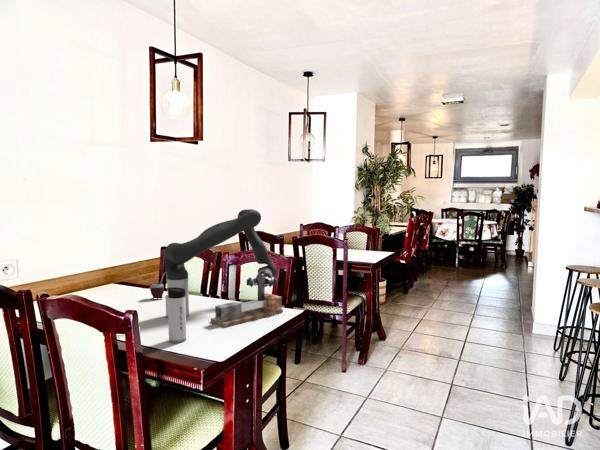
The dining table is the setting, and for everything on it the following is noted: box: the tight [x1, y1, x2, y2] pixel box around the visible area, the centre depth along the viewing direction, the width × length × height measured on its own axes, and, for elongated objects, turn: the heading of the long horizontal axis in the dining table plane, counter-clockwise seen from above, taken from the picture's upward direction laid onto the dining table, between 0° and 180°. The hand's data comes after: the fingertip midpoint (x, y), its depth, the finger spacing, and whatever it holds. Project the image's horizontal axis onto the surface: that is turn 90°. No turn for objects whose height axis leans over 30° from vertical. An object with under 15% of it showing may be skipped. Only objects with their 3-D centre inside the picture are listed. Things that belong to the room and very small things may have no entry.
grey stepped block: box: [240, 273, 268, 312], centre depth 182 cm, size 22×3×15 cm, turn 134°
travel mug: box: [166, 287, 187, 344], centre depth 150 cm, size 6×7×20 cm
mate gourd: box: [149, 272, 166, 299], centre depth 216 cm, size 8×8×15 cm
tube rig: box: [210, 292, 284, 328], centre depth 181 cm, size 32×11×8 cm, turn 134°
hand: (260, 284), depth 184 cm, fingers open, 8 cm apart
